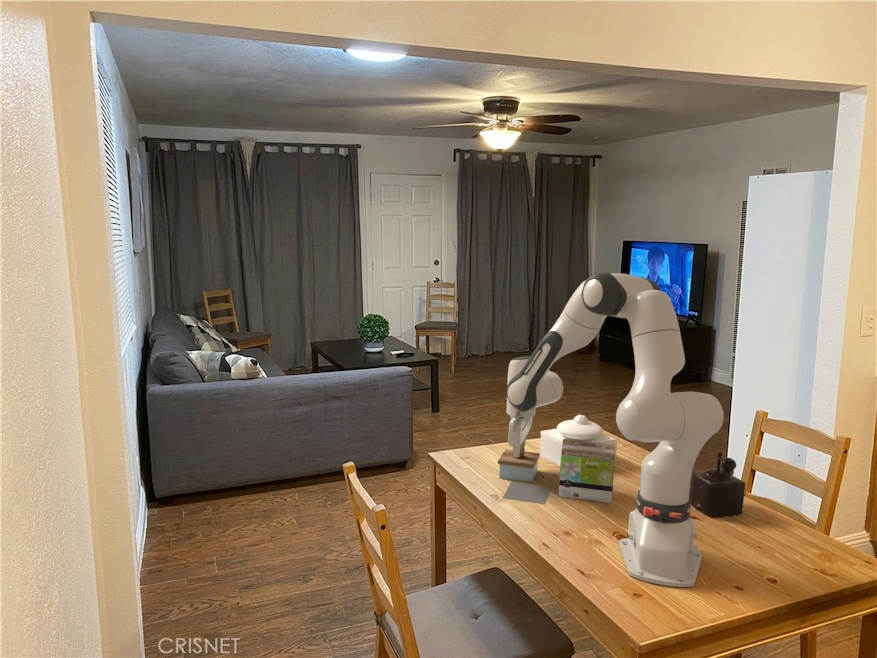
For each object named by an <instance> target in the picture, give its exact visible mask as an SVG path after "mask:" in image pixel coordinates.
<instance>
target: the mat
mask: <svg viewBox="0 0 877 658" xmlns="http://www.w3.org/2000/svg"><path fill="white" fill-rule="evenodd" d="M551 489H552V487H549V486H548V487H547V486H541V485H534V484H526V483H522V482H521V483H519V482H513V481H512V482H510V483H509V485H508V486H507V489H506V491H505V492H504V494H503V497H502V499H505V500H512V501H517V502H518V501H519V502H526V503H532V504H539V505H546V503H547V499H548V497H549V493H550V492H551Z"/></svg>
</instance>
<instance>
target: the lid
mask: <svg viewBox="0 0 877 658" xmlns="http://www.w3.org/2000/svg"><path fill="white" fill-rule="evenodd" d="M525 450H526V449H525V447H522V446H520V456H519V457H514V456H513V449H507V448H505V450H504V451H503V453H502V454H501V456H500V457H499V459H498V460H497V465H500V464H501V465H509V466H516V467H524V468H532V469H534V467H535V465H536V463H537V461H539V459H540V457H541V456H540V452H539V453H538V452H531V451H525Z"/></svg>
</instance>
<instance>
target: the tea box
mask: <svg viewBox="0 0 877 658" xmlns="http://www.w3.org/2000/svg"><path fill="white" fill-rule="evenodd" d="M615 466H616V464H615V449H614V444H609V443H600V442H590V441H581V440H571V439H563V444H562V451H561V464H560V467H559V478H558V479H559V481H558V482H559V483H558V496H559V497H563V498H571V499H572V498H573V499H580V500H589V501H595V502H596V501H597V502H601V503H605V502H606V504H612V501H613V491H614V475H615V474H614V473H615Z"/></svg>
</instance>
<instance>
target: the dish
mask: <svg viewBox="0 0 877 658" xmlns="http://www.w3.org/2000/svg"><path fill="white" fill-rule="evenodd" d="M538 461H539V460H538ZM538 461H537V463H536V465H535V467H534V469H532V468H524V467H516V466H509V465H501V464H499V479H504V480H511V481H516V482H517V481H518V482H526V483H533V480H534V478H535V476H536V474H537V472H538V463H539V462H538Z"/></svg>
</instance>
